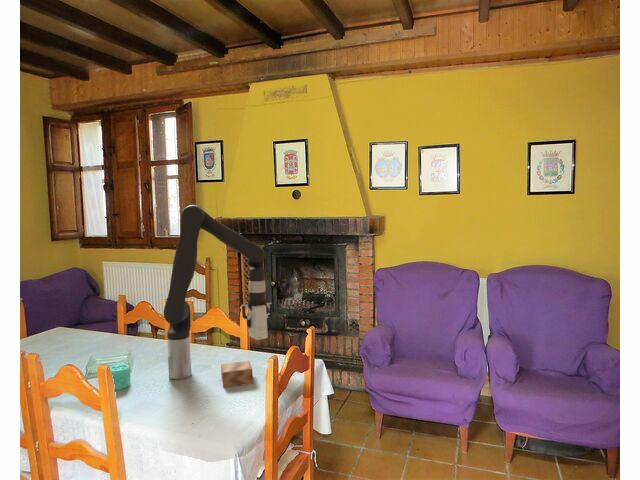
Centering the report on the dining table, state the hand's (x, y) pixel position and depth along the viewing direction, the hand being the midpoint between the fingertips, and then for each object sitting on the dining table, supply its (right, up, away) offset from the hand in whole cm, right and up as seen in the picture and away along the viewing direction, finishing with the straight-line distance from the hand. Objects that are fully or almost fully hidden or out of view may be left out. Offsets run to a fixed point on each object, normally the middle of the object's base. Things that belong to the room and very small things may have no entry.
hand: (257, 326), depth 189 cm
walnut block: (-7, -21, -11) cm, 24 cm away
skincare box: (0, -5, 0) cm, 5 cm away
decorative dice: (-55, -22, -14) cm, 61 cm away
